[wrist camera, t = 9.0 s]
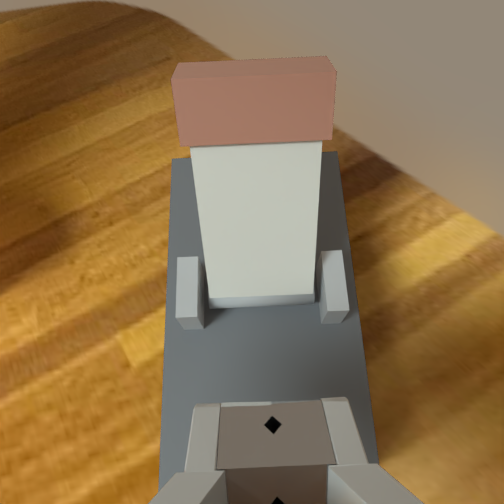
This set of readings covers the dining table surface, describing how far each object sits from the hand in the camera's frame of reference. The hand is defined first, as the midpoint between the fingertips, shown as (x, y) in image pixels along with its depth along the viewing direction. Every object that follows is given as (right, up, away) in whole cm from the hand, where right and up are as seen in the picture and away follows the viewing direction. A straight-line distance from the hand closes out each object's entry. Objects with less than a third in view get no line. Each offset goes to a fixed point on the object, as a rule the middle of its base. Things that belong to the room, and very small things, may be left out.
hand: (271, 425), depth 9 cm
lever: (0, +1, +13) cm, 13 cm away
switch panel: (0, -1, +19) cm, 19 cm away
